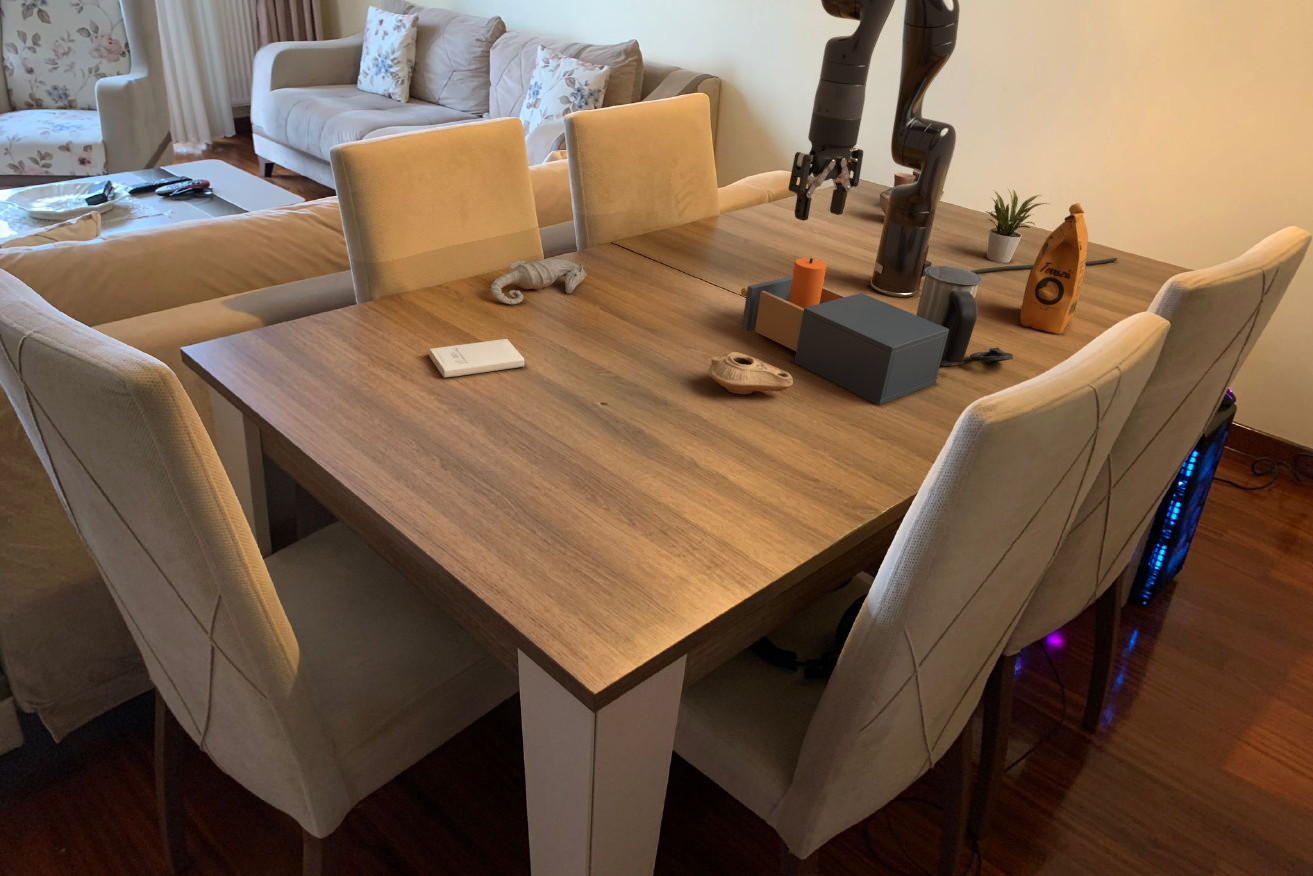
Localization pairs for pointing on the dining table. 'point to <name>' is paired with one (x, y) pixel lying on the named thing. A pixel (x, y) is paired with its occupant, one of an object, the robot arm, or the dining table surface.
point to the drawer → (777, 310)
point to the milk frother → (954, 312)
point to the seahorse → (537, 277)
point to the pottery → (898, 180)
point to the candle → (807, 282)
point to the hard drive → (476, 358)
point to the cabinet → (870, 347)
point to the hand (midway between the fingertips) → (818, 216)
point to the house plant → (1007, 228)
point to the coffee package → (1057, 276)
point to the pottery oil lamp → (747, 374)
